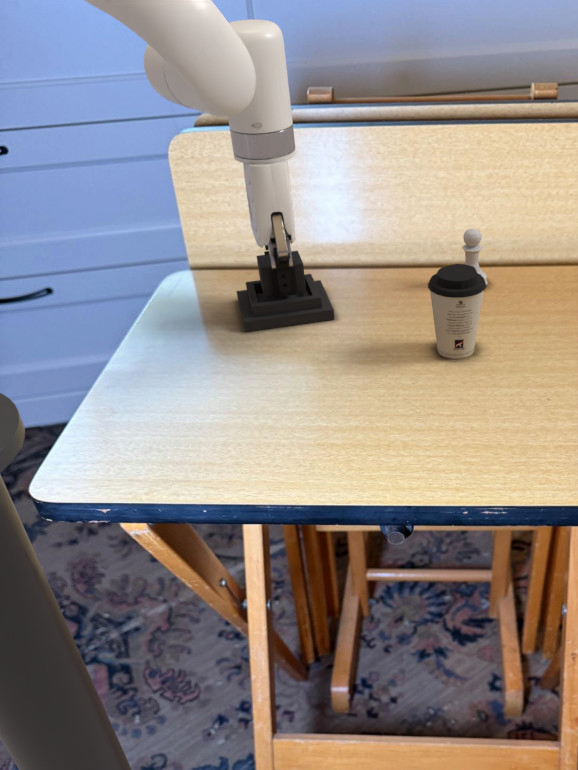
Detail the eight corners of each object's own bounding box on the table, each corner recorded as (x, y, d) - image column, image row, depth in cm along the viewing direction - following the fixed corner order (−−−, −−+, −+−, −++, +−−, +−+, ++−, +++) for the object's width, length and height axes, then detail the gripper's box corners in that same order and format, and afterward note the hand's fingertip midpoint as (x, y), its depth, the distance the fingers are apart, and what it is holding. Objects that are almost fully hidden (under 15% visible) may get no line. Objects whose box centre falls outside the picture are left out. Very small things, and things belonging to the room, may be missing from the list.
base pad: (245, 332, 105) (242, 311, 103) (238, 301, 113) (234, 280, 111) (334, 319, 107) (332, 298, 105) (321, 289, 115) (319, 269, 113)
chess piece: (477, 275, 117) (479, 220, 112) (493, 287, 114) (496, 231, 108) (448, 281, 115) (449, 226, 110) (464, 294, 112) (466, 237, 107)
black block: (264, 298, 106) (260, 268, 103) (260, 284, 109) (256, 255, 107) (306, 292, 107) (303, 263, 104) (301, 278, 110) (297, 250, 107)
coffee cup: (470, 368, 96) (472, 289, 90) (418, 356, 99) (417, 279, 92) (491, 343, 101) (495, 266, 94) (442, 332, 104) (442, 257, 97)
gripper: (226, 127, 101) (248, 266, 113) (239, 166, 89) (262, 317, 101) (284, 121, 103) (300, 260, 115) (305, 159, 90) (321, 309, 102)
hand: (282, 285), depth 108 cm, fingers closed on black block, 4 cm apart
